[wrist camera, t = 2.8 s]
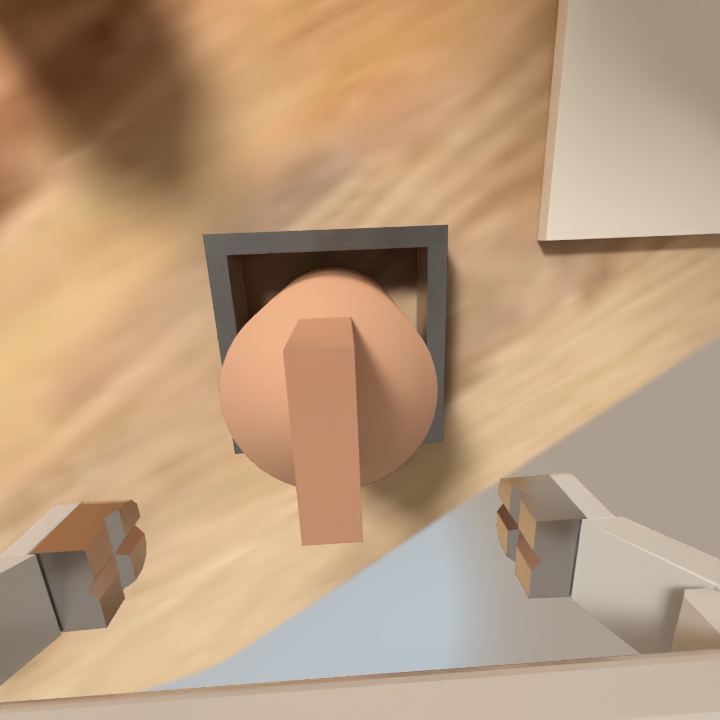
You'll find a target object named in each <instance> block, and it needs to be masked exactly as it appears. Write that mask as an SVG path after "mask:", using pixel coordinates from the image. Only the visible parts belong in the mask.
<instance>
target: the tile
mask: <svg viewBox="0 0 720 720" xmlns="http://www.w3.org/2000/svg"><path fill="white" fill-rule="evenodd" d="M717 233H720V0H559V4H558V16H557V27H556V38H555V50H554V61H553V72H552V83H551V95H550V106H549V117H548V129H547V140H546V151H545V162H544V174H543V185H542V196H541V208H540V219H539V230H538V240H543V241H548V240H572V239H596V238H621V237H645V236H669V235H693V234H717Z"/></svg>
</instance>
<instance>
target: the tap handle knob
mask: <svg viewBox="0 0 720 720" xmlns="http://www.w3.org/2000/svg"><path fill="white" fill-rule="evenodd" d="M437 395H438V388H437V376H436V371H435V366H434V363H433V360H432V357H431V354H430V352H429V350H428V348H427V346H426V344H425V342H424V341H423V339H422V338H421V336H420V335H419V333H418V332H417V331H416V329H415V328H414V327H413V325H412V324H411V323H410V322H409V320H408V319H407V318H406V316H405V315H404V314H403V313H402V311H401V310H400V309H399V308H398V306H397V305H396V304H395V302H394V301H393V300H392V299H391V297H390V296H389V295H388V294H387V292H386V291H385V290H384V289H383V288H382V287H381V286H380V285H379V284H378V283H377V282H375V281H374V280H373V279H371V278H370V277H368V276H367V275H365V274H363V273H360V272H358V271H355V270H352V269H348V268H342V267H325V268H319V269H315V270H312V271H309V272H307V273H304V274H303V275H301V276H299V277H297V278H296V279H294V280H293V281H292V282H290V283H289V284H288V285H287V286H286V287H285V288H284V289H283V290H282V291H281V292H279V293H278V294H277V295H276V296H275V297H274V298H273V299H272V300H271V301H270V302H269V303H268V304H266V305H265V306H264V307H263V308H262V309H261V310H260V311H259V312H258V313H257V314H256V315H254V316H253V317H252V318H251V319H250V320H249V321H248V322H247V323H246V324H245V326H244V327H243V328H242V329H241V331H240V332H239V333H238V335H237V336H236V337H235V339H234V341H233V342H232V344H231V346H230V348H229V350H228V352H227V355H226V358H225V360H224V363H223V368H222V372H221V378H220V400H221V407H222V411H223V416H224V419H225V422H226V424H227V427H228V429H229V431H230V433H231V435H232V437H233V439H234V440H235V442H236V443H237V445H238V446H239V447H240V449H241V450H242V452H243V453H244V454H245V455H246V456H247V457H248V458H249V459H250V460H251V461H252V462H253V463H254V464H256V465H257V466H258V467H259V468H260V469H262V470H263V471H265V472H266V473H268V474H269V475H271V476H273V477H275V478H277V479H279V480H281V481H283V482H285V483H288V484H291V485H294V486H296V489H297V499H298V509H299V519H300V529H301V539H302V546H305V545H320V544H336V543H352V542H363V533H362V510H361V488H360V487H362V486H365V485H368V484H370V483H373V482H376V481H378V480H380V479H382V478H384V477H386V476H387V475H389V474H390V473H392V472H393V471H395V470H397V469H398V468H399V467H400V466H401V465H403V464H404V463H405V462H406V461H407V460H408V459H409V458H410V457H411V456H412V455H413V454H414V453H415V452H416V450H417V449H418V447H419V446H420V445H421V443H422V442H423V440H424V438H425V437H426V435H427V433H428V431H429V429H430V426H431V424H432V421H433V418H434V414H435V410H436V405H437Z"/></svg>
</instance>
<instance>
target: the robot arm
mask: <svg viewBox="0 0 720 720" xmlns="http://www.w3.org/2000/svg"><path fill="white" fill-rule="evenodd" d="M498 495H499V497H500V499H501V500H502V502H503V505H502V506H501V507H500V508H499V510H498V511H497V531H498V537H499V540H500V543H501V546H502V548H503V550H504V552H505V554H506V556H508V557H509V558H511V559H512V560H513V561H515V573H516V575H517V577H518V579H519V581H520V583H521V585H522V586H523V588H524V590H525V592H526V594H527V596H528V598H547V597H571V599H572V600H573V601H574V602H576V603H577V604H578V605H580V606H581V607H582V608H583V609H585V610H586V611H587V612H588V613H590V614H591V615H592V616H593V617H595V618H596V619H597V620H599V621H600V622H601V623H602V624H604V625H605V626H606V627H608V628H609V629H610V630H611V631H612V632H614V633H615V634H616V635H618V636H619V637H620V638H621V639H623V640H624V641H625V642H626V643H628V644H629V645H630V646H631V647H633V648H634V649H635V650H636V651H638V652H639V653H640V655H628V656H627V655H626V656H613V657H601V658H588V659H575V660H562V661H550V662H538V663H525V664H510V665H497V666H483V667H469V668H455V669H442V670H427V671H414V672H400V673H386V674H372V675H359V676H347V677H333V678H319V679H306V680H293V681H280V682H267V683H255V684H241V685H228V686H215V687H202V688H188V689H175V690H162V691H148V692H135V693H122V694H108V695H95V696H82V697H69V698H55V699H42V700H29V701H15V702H2V703H0V720H720V559H718V558H715V557H713V556H711V555H708V554H706V553H704V552H702V551H699V550H697V549H695V548H692V547H690V546H688V545H686V544H683V543H681V542H679V541H676V540H674V539H672V538H670V537H667V536H665V535H663V534H660V533H658V532H656V531H654V530H651V529H649V528H647V527H644V526H642V525H640V524H638V523H635V522H633V521H631V520H628V519H626V518H624V517H614V516H613V515H612V514H611V513H610V512H609V511H608V510H607V509H606V508H605V507H604V506H603V505H602V504H601V503H600V502H599V501H598V500H597V499H596V498H595V497H594V496H593V495H592V494H591V493H590V492H589V491H588V490H587V489H586V488H585V487H584V486H583V485H582V484H581V483H580V482H579V481H578V480H577V479H576V478H575V477H574V476H573V475H572V474H569V473H567V472H566V473H556V474H546V475H537V476H525V477H512V478H501V480H500V483H499V489H498ZM139 518H140V513H139V510H138V506H137V503H135V502H134V501H132V500H116V501H90V502H71V503H62V504H58V505H55V506H54V507H53V508H52V509H51V510H50V511H49V512H48V513H46V514H45V515H44V516H43V517H42V518H41V519H40V520H39V521H38V522H37V523H35V524H34V525H33V526H32V527H31V528H30V529H29V530H28V531H27V532H26V533H24V534H23V535H22V536H21V537H20V538H19V539H18V540H17V541H16V542H15V543H13V544H12V545H11V546H10V547H9V548H8V549H7V550H6V551H5V552H4V553H2V554H1V555H0V686H1V685H2V684H3V683H4V682H5V681H7V680H8V679H9V678H10V677H11V676H13V675H14V674H15V673H16V672H17V671H19V670H20V669H21V668H22V667H23V666H24V665H26V664H27V663H28V662H29V661H30V660H32V659H33V658H34V657H35V656H36V655H38V654H39V653H40V652H41V651H42V650H44V649H45V648H46V647H47V646H48V645H50V644H51V643H52V642H53V641H54V640H55V639H57V638H58V637H59V636H60V635H61V632H69V631H79V630H89V629H99V628H107V627H108V625H109V623H110V622H111V620H112V618H113V617H114V615H115V614H116V612H117V610H118V609H119V607H120V605H121V604H122V602H123V601H124V599H125V597H124V593H123V589H124V588H126V587H127V586H129V585H130V584H131V583H133V582H134V581H135V580H136V579H137V577H138V576H139V574H140V572H141V570H142V569H143V565H144V561H145V557H146V539H145V535H144V533H143V532H142V531H141V530H140V529H139V528H138V527H136V526H135V525H136V523H137V521H138V520H139Z"/></svg>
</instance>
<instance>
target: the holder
mask: <svg viewBox="0 0 720 720" xmlns="http://www.w3.org/2000/svg"><path fill="white" fill-rule="evenodd" d="M203 240H204V246H205V253H206V260H207V267H208V274H209V280H210V287H211V294H212V301H213V308H214V314H215V321H216V328H217V335H218V341H219V348H220V355H221V362H222V368H223V363H224V360H225V358H226V355H227V352H228V350H229V348H230V346H231V344H232V342H233V341H234V339H235V337H236V336H237V335H238V333H239V332H240V331H241V329H242V328H243V327H244V326H245V324H246V323H247V322H248V321H249V315H248V307H247V299H246V291H245V282H244V274H243V266H242V258H241V254H265V253H289V252H313V251H337V250H361V249H385V248H410V247H417V332H418V333H419V335H420V336H421V338H422V339H423V341H424V342H425V344H426V346H427V348H428V350H429V352H430V354H431V357H432V360H433V363H434V366H435V371H436V376H437V388H438V395H437V405H436V410H435V414H434V418H433V421H432V424H431V426H430V429H429V431H428V433H427V435H426V437H425V438H424V440H423V442H422V443H434V442H443V409H444V369H445V329H446V289H447V249H448V225H434V226H408V227H383V228H358V229H333V230H308V231H283V232H258V233H232V234H207V235H203ZM233 443H234V450H235V454H239V453H243V452H242V450H241V449H240V447H239V446H238V445H237V443H236V442H235V440H234V439H233Z"/></svg>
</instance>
